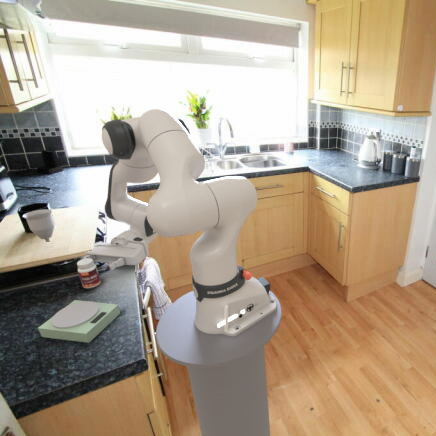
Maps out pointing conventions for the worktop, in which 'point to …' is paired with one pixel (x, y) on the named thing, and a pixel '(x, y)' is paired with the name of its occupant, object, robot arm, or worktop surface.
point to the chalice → (40, 223)
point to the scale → (80, 321)
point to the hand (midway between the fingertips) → (95, 266)
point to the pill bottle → (88, 273)
